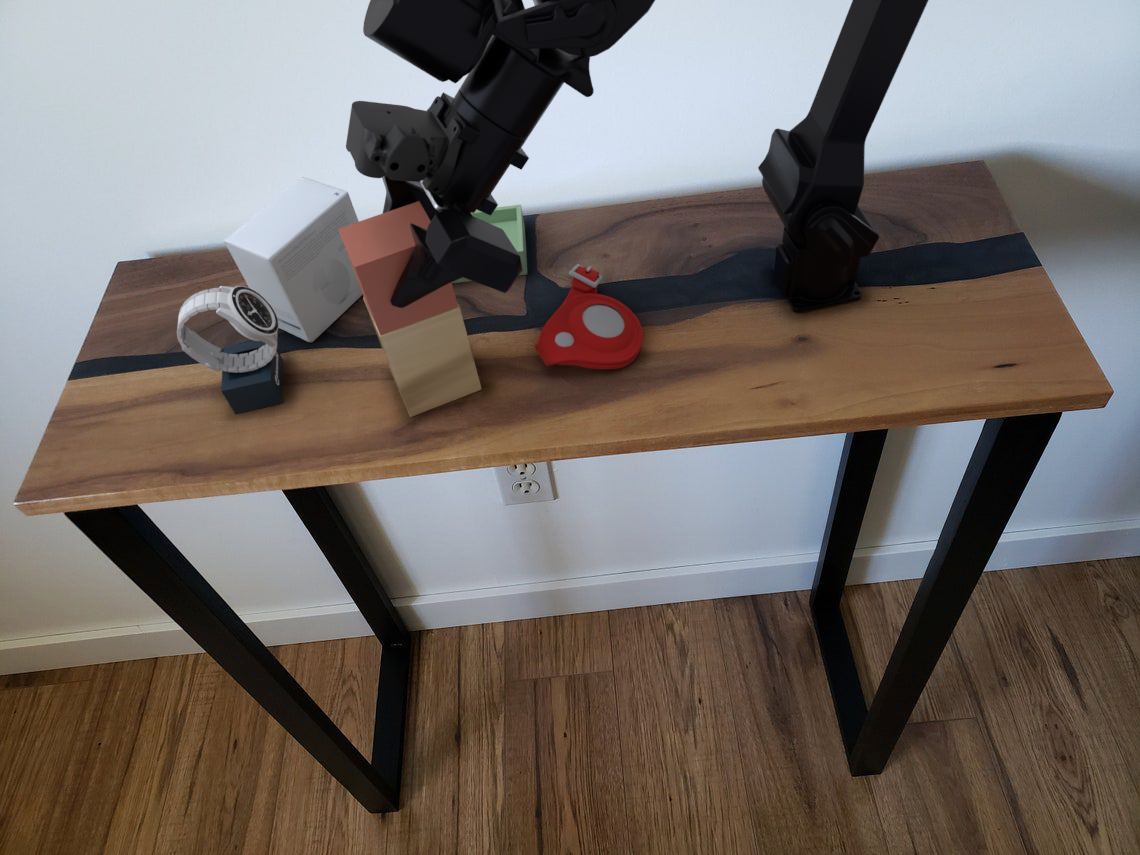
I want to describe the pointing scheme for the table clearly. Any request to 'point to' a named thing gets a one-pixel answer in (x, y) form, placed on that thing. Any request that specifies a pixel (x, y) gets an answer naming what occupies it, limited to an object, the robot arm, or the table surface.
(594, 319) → the tracker holder
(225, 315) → the watch
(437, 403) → the block
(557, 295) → the table surface
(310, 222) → the cosmetics box
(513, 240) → the tray
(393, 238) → the reddish brown rectangular block
